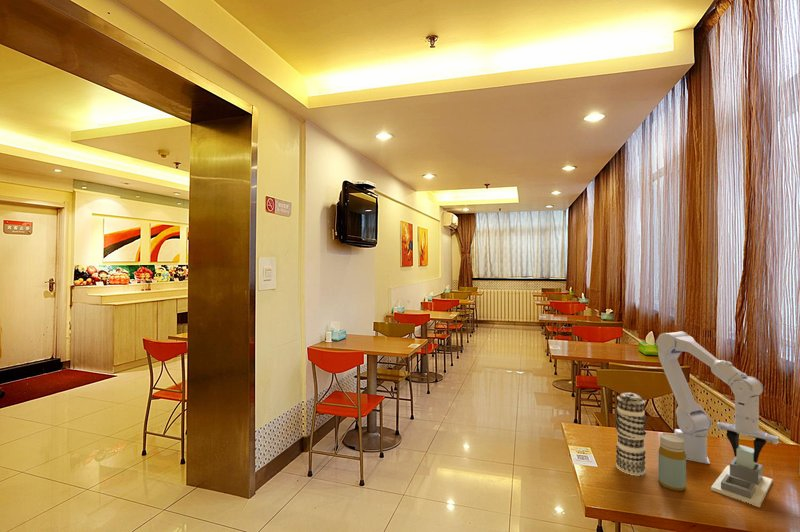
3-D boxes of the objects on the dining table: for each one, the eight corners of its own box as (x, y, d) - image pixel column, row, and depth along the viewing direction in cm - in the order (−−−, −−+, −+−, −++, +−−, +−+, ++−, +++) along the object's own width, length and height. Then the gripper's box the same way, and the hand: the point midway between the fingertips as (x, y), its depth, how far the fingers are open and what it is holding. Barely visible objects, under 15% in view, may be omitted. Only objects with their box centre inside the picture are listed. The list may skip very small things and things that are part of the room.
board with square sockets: (759, 507, 111) (759, 490, 111) (711, 490, 120) (711, 473, 120) (772, 482, 124) (772, 466, 124) (727, 468, 132) (727, 453, 132)
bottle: (677, 494, 117) (678, 444, 117) (653, 482, 124) (653, 435, 123) (690, 488, 121) (690, 439, 120) (666, 477, 127) (666, 430, 127)
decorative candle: (618, 474, 129) (619, 398, 128) (611, 460, 138) (612, 389, 137) (650, 478, 126) (651, 400, 126) (641, 464, 135) (641, 391, 135)
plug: (752, 472, 122) (753, 453, 122) (736, 467, 125) (736, 448, 125) (756, 467, 125) (756, 448, 125) (739, 462, 128) (739, 444, 128)
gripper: (714, 412, 128) (714, 453, 128) (775, 426, 117) (775, 472, 117) (720, 407, 132) (719, 447, 133) (779, 420, 121) (779, 464, 121)
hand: (746, 458), depth 125 cm, fingers closed on plug, 4 cm apart
